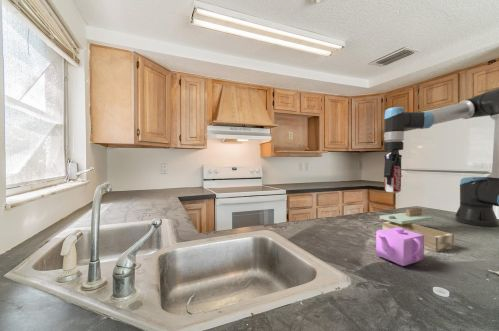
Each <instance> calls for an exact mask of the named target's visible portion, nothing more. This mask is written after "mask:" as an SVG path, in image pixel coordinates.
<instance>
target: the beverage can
mask: <svg viewBox="0 0 499 331" xmlns="http://www.w3.org/2000/svg"><path fill="white" fill-rule="evenodd" d="M401 175H402V168H401V169H400V167H399V166H394V171H393V177H392V178H394V186H393V192H390V193H392V194H395V193H396V194H397V193H400V192H402V191H401V190H402V188H401V187H402V177H401ZM386 178H387V177H384V191H386Z"/></svg>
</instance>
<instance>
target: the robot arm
mask: <svg viewBox="0 0 499 331" xmlns="http://www.w3.org/2000/svg"><path fill="white" fill-rule="evenodd" d="M478 117H479V118H481V117H489V118H490V119H492V120H493V121H494V130H493V147H492V148H493V149H492V166H491V167H492V168H491V173H489V175H487V176H471V177H470V176H469V177H463V178H461V179H460V181H459V182H460V183H459V207H458V209H457V210H456V213H455V216H454V220H455V221H457V222H459V223H462V224H466V225H471V226H480V227H489V228H491V227H492V228H493V227H499V220H498V218H497V216H496V213H495V211H494V207H499V87H498V88H494V89H492V90H488V91H485V92H483V93H480V94H477V95H476V96H473V97H470V98H467V99H463V100H460V102H458V103H454V104H450V105H447V106H442V107H439V108H434V109H431V110H426V111H410V112H409V111H405V108H404V107H403V106H394V107H389V108H387V109H386V110H384V118H383V119H384V126H383V127H384V130H383V132H384V135H383V140H384V143H383V150H384V151H387V154H385V153H384V168H383V169H384V171H383V172H384V174H383V178H385V177H387V178H386V190H385V192H387V193H391V192H393V186H394V178H392V177H393V171H394V166H399V167H400V169H401V170H402V156H403V155H402V154H400V152H399V151H403V150H404V142H403V141H404V140H405V132H408V131H414V130H419V129H420V130H423V129H424V130H425V129H429V128H431V127H433V126H434V125H437V124H442V123H443V124H444V123H447V122H451V121H455V120H459V119H463V120H468V119H473V118H478ZM402 177H403V175H402V174H401V178H402Z"/></svg>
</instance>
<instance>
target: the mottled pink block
mask: <svg viewBox="0 0 499 331" xmlns="http://www.w3.org/2000/svg"><path fill="white" fill-rule="evenodd" d="M375 238H376V239H375V255H376V256H378V257H380V258H384V259H385V260H388V261H390V262H393V263H394V264H397V265H399V266H402V267H406V266H408V265H412V264H416V263H418V262H421V261H424V260H425V248H424V235H422V234H418V233H414V232H411V231H407V230H404V229H403V228H391V229H386V230H382V229H378V230H376V231H375Z"/></svg>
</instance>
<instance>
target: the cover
mask: <svg viewBox="0 0 499 331" xmlns="http://www.w3.org/2000/svg"><path fill="white" fill-rule="evenodd" d="M422 213H423V211H422V208H421V207H414V208H406V209H405V212H400V213H393V214H383V215H382V214H381V215H380V216H379V219H380V220H385V221H387V222H390V221H391V222H395V223H399V224H407V223H411V224H415V223H420V222H427V221H432V220H434V216H430V215H425V214H422Z"/></svg>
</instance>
